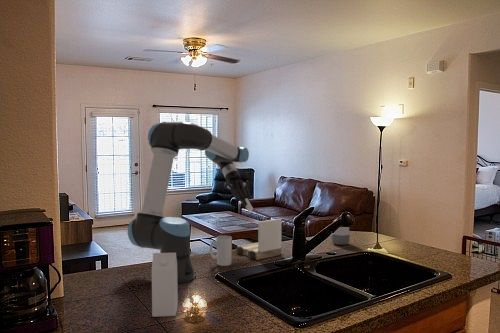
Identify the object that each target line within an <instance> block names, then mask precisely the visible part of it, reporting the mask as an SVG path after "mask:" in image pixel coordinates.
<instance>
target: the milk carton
mask: <svg viewBox="0 0 500 333" xmlns="http://www.w3.org/2000/svg"><path fill="white" fill-rule="evenodd" d="M178 292H179V291H178V283H177V258H176V253H160V252H153V253H152V264H151V313H152V314H151V317H154V318H155V317H157V318H158V317H175V316H176V315H177V311H178V308H179V307H178V306H179V303H178V302H179V301H178V300H179V299H178V295H179V294H178Z"/></svg>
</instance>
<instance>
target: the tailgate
mask: <svg viewBox="0 0 500 333" xmlns="http://www.w3.org/2000/svg"><path fill="white" fill-rule="evenodd" d="M282 220H283V219H282V218H275V219H274V218H273V219H268V220H262V221H261V220H260V221H258V223H257V224H258V225H257V228H258V229H257V231H258V232H257V238H258V239H257V240H258V253H263V252H268V251H273V250H278V249H281V250H282V248H283V247H282V222H283V221H282Z"/></svg>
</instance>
